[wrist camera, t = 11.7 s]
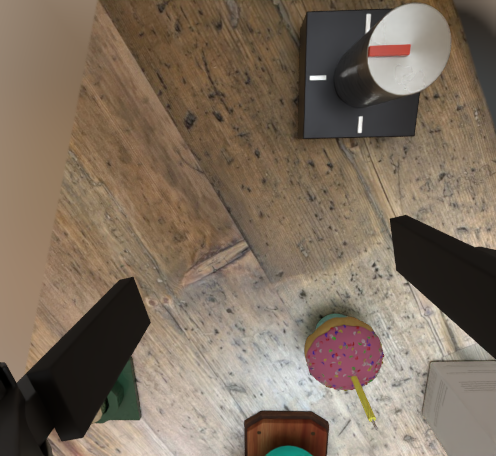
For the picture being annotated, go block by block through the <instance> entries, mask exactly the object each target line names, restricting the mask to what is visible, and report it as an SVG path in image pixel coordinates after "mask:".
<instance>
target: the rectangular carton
mask: <svg viewBox="0 0 496 456" xmlns="http://www.w3.org/2000/svg"><path fill="white" fill-rule="evenodd" d="M422 414H423V416H424V418H425V419H426V421H427V422H428V424H429V426H430V427H431V429H432V431H433V432H434V434H435V435H436V437H437V439H438V440H439V442H440V444H441V445H442V447H443V448H444V450H445V452H446V453H447V455H448V456H496V361H456V362H431V365H430V371H429V377H428V383H427V388H426V394H425V400H424V406H423V412H422Z"/></svg>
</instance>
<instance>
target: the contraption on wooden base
mask: <svg viewBox="0 0 496 456" xmlns="http://www.w3.org/2000/svg"><path fill="white" fill-rule="evenodd" d="M244 427H245V456H327V445H328V433H329V424H328V422H327V421H326V420H324V419H322V418H321V417H319V416H318V415H316V414H315V413H313V412H293V411H260V412H259V413H257V414H255V415H254V416H252V417H250V418H249V419H247V420H245V424H244Z"/></svg>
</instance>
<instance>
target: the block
mask: <svg viewBox="0 0 496 456" xmlns="http://www.w3.org/2000/svg"><path fill="white" fill-rule="evenodd" d="M107 400H108V405H107V408H106V409H105V411H104V413H103V415H102V417H101V418H100V420H99V421H97V422H95V423H104V422H106V421H108V420H140V418H141V411H140V405H139V399H138V392H137V386H136V380H135V374H134V367H133V361H132V357H130V359H129V360H128V362H127V364H126V365H125V367H124V369H123V370H122V372H121V374H120V376H119V377H118V379H117V381H116V382H115V384H114V386H113V388H112V389H111V391H110V393H109V394H108V396H107Z"/></svg>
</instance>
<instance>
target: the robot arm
mask: <svg viewBox="0 0 496 456" xmlns="http://www.w3.org/2000/svg"><path fill="white" fill-rule="evenodd" d="M390 224H391V232H392V240H393V248H394V256H395V263H396V271H398V272H399V273H400V274H401V275H402V276H403V277H404V278H405V279H407V280H408V281H409V282H410V283H411V284H412V285H413V286H414V287H415V288H417V289H418V290H419V291H420V292H421V293H422V294H423V295H424V296H426V297H427V298H428V299H429V300H430V301H431V302H432V303H433V304H434V305H436V306H437V307H438V308H439V309H440V310H441V311H442V312H443V313H445V314H446V315H447V316H448V317H449V318H450V319H451V320H452V321H453V322H455V323H456V324H457V325H458V326H459V327H460V328H461V329H462V330H464V331H465V332H466V333H467V334H468V335H469V336H470V337H471V338H472V339H474V340H475V341H476V342H477V343H478V344H479V345H480V346H481V347H482V348H484V349H485V350H486V351H487V352H488V353H489V354H490V355H491V356H493V357H494V358H495V359H496V250H494V249H489V248H484V247H473V246H471V245H469V244H466V243H464V242H462V241H460V240H458V239H456V238H454V237H452V236H449V235H447V234H445V233H443V232H441V231H439V230H437V229H435V228H432V227H430V226H428V225H426V224H424V223H422V222H420V221H418V220H415V219H413V218H411V217H409V216H407V215H404V216H399V217H395V218H391V219H390ZM150 323H151V322H150V319H149V317H148V314H147V311H146V309H145V306H144V303H143V301H142V298H141V296H140V293H139V290H138V288H137V285H136V282H135V280H134V277H130V278H126V279H122V280H119V281H118V282H117V283H116V284H115V285H114V286H113V287H112V288H111V289H110V290H109V291H108V292H107V293H106V294H105V295H104V296H103V297H102V298H101V299H100V300H99V301H98V302H97V303H96V304H95V305H94V306H93V307H92V308H91V309H90V310H89V311H88V312H87V313H86V314H85V315H84V316H83V317H82V318H81V319H80V320H79V321H78V322H77V323H76V324H75V325H74V326H73V327H72V328H71V329H70V330H69V331H68V332H67V333H66V334H65V335H64V336H63V337H62V338H61V339H60V340H59V341H58V342H57V343H56V344H55V345H54V346H53V347H52V348H51V349H50V350H49V351H48V352H47V353H46V354H45V355H44V356H43V357H42V358H41V359H40V360H39V361H38V362H37V363H36V364H35V365H34V366H33V367H32V368H31V369H30V370H29V371H28V372H27V373H26V374H25V375H24V376H23V377H22V378H21V379H20V380H19V381H18V382H17V383H16V381H15V379H14V378H13V376H12V374H11V372H10V370H9V368H8V367H7V365H6V363H1V362H0V456H53V455H52V448H51V446H50V444H49V442H48V440H47V437H48V436H49V434H50V433H51V431H52V430H53V429H54V428H55V430H56V432H57V433H58V435H59V437H60V439H61V441H67V440H73V439H78V438H83V437H84V435H85V434H86V432H87V430H88V428H89V427H90V425H91V423H92V422H93V420H94V418H95V417H96V415H97V413H98V411H99V410H100V408H101V406H102V405H103V403H104V401H105V399H106V398H107V396H108V394H109V393H110V391H111V389H112V388H113V386H114V384H115V382H116V381H117V379H118V377H119V376H120V374H121V372H122V370H123V369H124V367H125V365H126V364H127V362H128V360H129V359H130V357H131V355H132V353H133V352H134V350H135V348H136V347H137V345H138V343H139V341H140V340H141V338H142V336H143V335H144V333H145V331H146V330H147V328H148V326H149V324H150Z"/></svg>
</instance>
